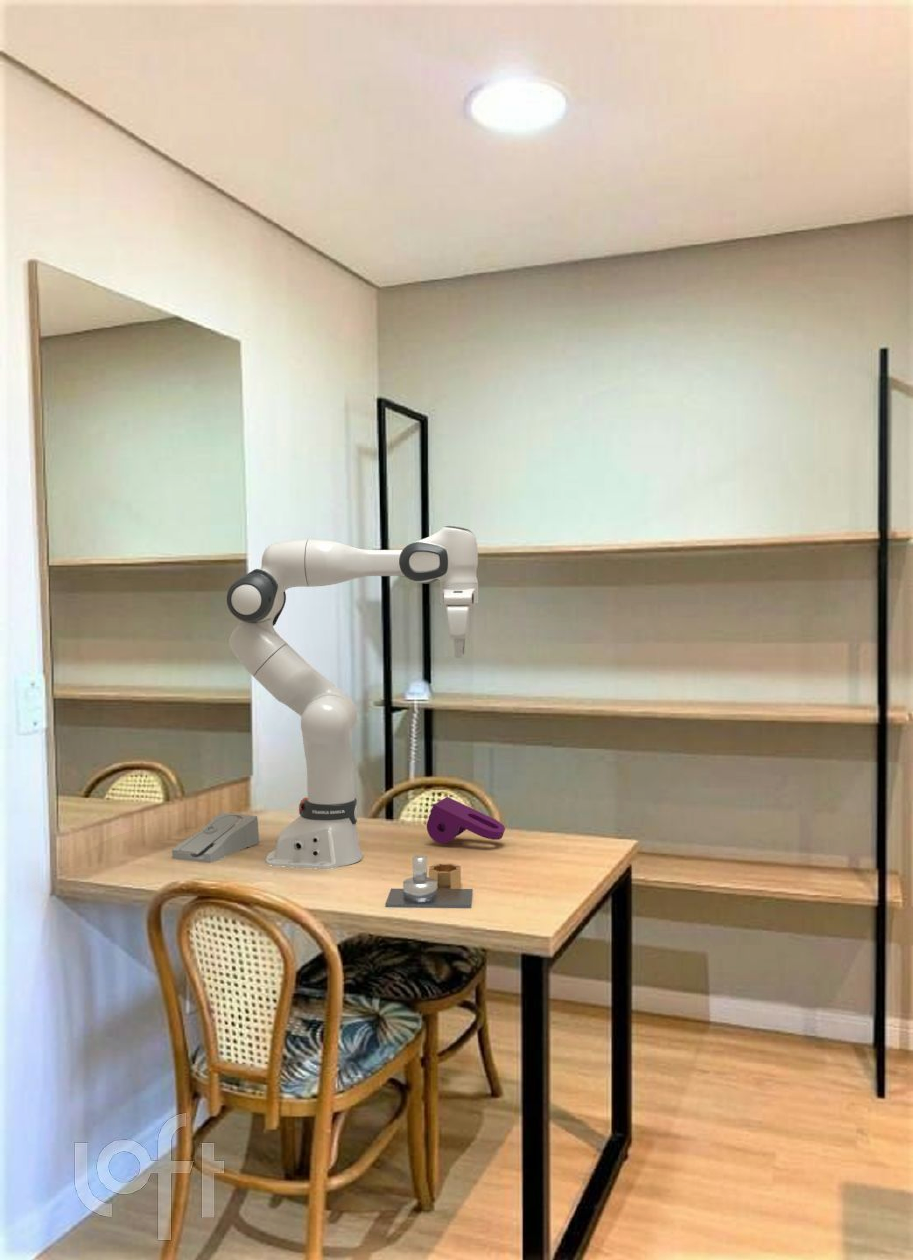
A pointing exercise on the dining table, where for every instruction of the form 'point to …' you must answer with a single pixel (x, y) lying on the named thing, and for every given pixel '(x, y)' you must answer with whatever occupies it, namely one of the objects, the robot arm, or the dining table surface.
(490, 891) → the dining table surface
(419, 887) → the base with metal peg
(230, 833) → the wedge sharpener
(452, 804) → the mounting bracket
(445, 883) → the ring
